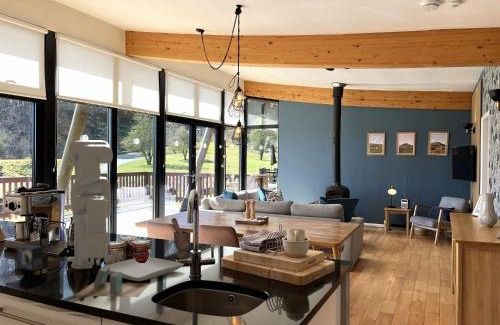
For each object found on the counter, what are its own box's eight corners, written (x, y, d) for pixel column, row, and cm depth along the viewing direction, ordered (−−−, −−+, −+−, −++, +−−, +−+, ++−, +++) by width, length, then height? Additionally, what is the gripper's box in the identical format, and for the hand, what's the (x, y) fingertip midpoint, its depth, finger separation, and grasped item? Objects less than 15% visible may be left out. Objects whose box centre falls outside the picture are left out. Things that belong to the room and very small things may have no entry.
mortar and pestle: (165, 258, 214) (165, 219, 214) (173, 254, 222) (173, 217, 222) (186, 259, 211) (186, 220, 210) (193, 255, 219) (193, 218, 219)
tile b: (110, 294, 156) (109, 276, 156) (116, 289, 162) (116, 271, 162) (116, 294, 156) (116, 276, 156) (122, 289, 162) (122, 271, 162)
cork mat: (75, 296, 156) (75, 295, 156) (93, 283, 172) (93, 282, 172) (137, 298, 154) (137, 296, 154) (150, 284, 170) (150, 283, 170)
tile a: (93, 285, 165) (99, 269, 164) (99, 281, 171) (105, 265, 170) (98, 288, 164) (104, 271, 164) (105, 283, 170) (110, 267, 170)
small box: (15, 269, 194) (15, 246, 193) (27, 265, 200) (27, 244, 200) (32, 271, 190) (31, 248, 190) (43, 268, 196) (43, 245, 196)
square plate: (185, 271, 190) (185, 262, 190) (138, 286, 167) (137, 277, 167) (144, 262, 205) (144, 254, 205) (96, 275, 183) (96, 267, 182)
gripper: (73, 230, 164) (74, 276, 164) (110, 230, 163) (111, 277, 163) (82, 227, 171) (83, 271, 172) (118, 227, 170) (118, 272, 171)
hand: (96, 274), depth 167 cm, fingers closed
